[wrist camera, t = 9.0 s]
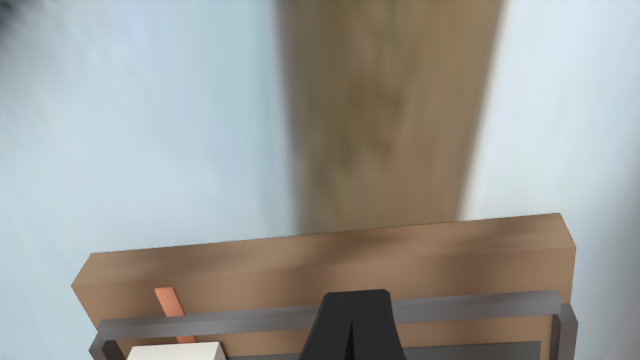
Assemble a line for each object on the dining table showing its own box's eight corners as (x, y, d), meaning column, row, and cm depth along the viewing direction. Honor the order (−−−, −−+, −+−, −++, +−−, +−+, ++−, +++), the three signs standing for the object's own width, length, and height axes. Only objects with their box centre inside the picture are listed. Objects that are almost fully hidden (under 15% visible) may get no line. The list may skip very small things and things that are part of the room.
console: (559, 213, 21) (585, 265, 19) (544, 399, 28) (561, 457, 25) (91, 253, 24) (59, 303, 22) (175, 412, 31) (158, 464, 28)
